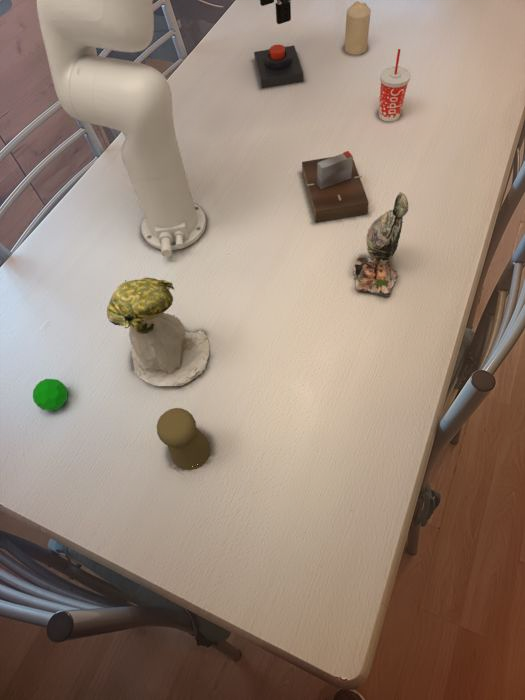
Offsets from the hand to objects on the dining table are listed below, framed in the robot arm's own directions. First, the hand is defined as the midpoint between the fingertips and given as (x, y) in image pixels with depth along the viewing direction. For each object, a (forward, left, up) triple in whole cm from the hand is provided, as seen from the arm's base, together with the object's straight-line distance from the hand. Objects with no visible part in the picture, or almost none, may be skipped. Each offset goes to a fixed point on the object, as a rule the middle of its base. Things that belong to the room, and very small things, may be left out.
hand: (275, 12), depth 110 cm
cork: (-92, +28, -13) cm, 97 cm away
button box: (0, 0, -13) cm, 13 cm away
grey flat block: (-44, -4, -10) cm, 45 cm away
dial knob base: (-44, -4, -13) cm, 46 cm away
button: (0, 0, -10) cm, 10 cm away
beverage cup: (-23, -21, -13) cm, 34 cm away
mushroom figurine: (-75, +30, -13) cm, 82 cm away
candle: (+4, -20, -13) cm, 24 cm away
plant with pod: (-65, -7, -13) cm, 67 cm away
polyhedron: (-80, +49, -13) cm, 95 cm away
